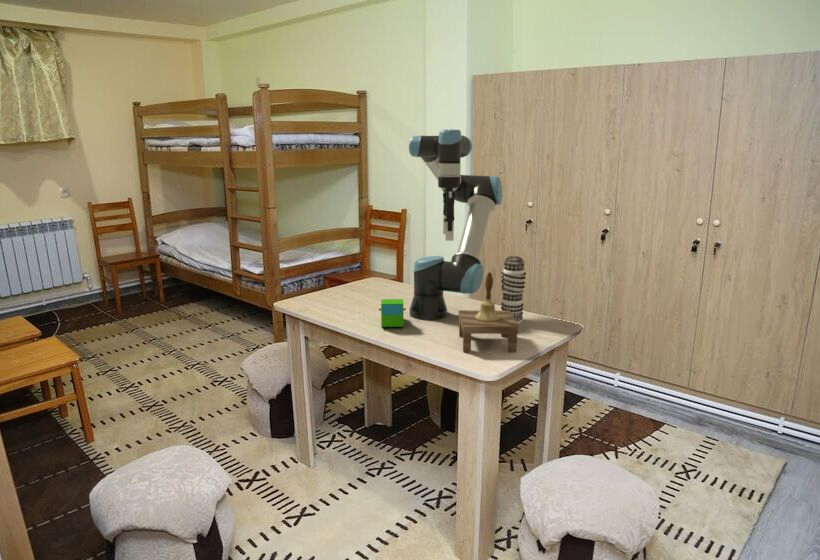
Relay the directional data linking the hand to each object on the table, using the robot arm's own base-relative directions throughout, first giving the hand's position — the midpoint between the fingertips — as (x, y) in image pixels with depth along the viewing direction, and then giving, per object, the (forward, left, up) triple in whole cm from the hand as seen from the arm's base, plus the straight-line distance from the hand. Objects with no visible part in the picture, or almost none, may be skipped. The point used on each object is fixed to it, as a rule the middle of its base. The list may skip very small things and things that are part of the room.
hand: (448, 237), depth 199 cm
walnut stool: (+13, +13, -35) cm, 39 cm away
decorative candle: (-12, +26, -35) cm, 45 cm away
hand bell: (+13, +13, -26) cm, 32 cm away
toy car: (-8, -20, -35) cm, 41 cm away
